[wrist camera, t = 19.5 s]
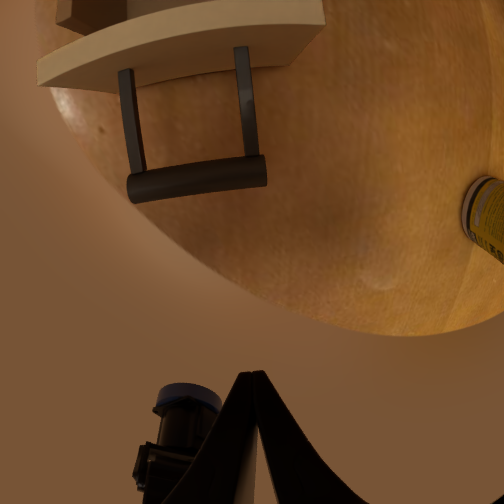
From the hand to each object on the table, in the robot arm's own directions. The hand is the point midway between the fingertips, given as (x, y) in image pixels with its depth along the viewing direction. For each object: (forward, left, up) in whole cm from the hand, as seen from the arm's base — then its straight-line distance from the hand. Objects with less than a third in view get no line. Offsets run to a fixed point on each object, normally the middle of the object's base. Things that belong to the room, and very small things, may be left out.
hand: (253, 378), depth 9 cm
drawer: (+7, +15, -11) cm, 20 cm away
